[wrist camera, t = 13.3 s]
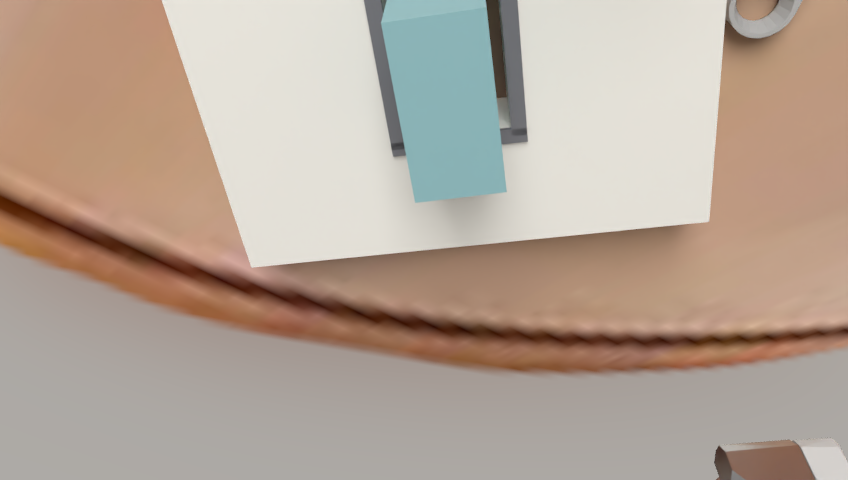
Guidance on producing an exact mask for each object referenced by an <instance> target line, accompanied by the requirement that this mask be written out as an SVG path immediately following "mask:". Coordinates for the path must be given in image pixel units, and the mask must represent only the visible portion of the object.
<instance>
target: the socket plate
mask: <svg viewBox="0 0 848 480" xmlns="http://www.w3.org/2000/svg"><path fill="white" fill-rule="evenodd" d="M386 1H387V0H162V2H163V5H164V8H165V11H166V14H167V17H168V20H169V23H170V26H171V29H172V32H173V35H174V38H175V41H176V44H177V47H178V50H179V53H180V56H181V59H182V62H183V65H184V68H185V71H186V74H187V77H188V80H189V83H190V86H191V89H192V92H193V95H194V98H195V101H196V104H197V107H198V110H199V113H200V116H201V119H202V122H203V125H204V128H205V131H206V134H207V136H208V139H209V142H210V145H211V148H212V151H213V154H214V157H215V160H216V163H217V166H218V169H219V172H220V175H221V178H222V181H223V184H224V187H225V190H226V193H227V196H228V199H229V202H230V205H231V208H232V211H233V214H234V217H235V220H236V223H237V226H238V229H239V232H240V235H241V238H242V241H243V244H244V247H245V250H246V253H247V256H248V259H249V262H250V265H251V268H252V267H262V266H272V265H282V264H292V263H302V262H312V261H322V260H332V259H342V258H352V257H362V256H372V255H382V254H392V253H402V252H412V251H422V250H432V249H442V248H452V247H462V246H472V245H482V244H492V243H502V242H512V241H522V240H532V239H542V238H552V237H562V236H572V235H582V234H592V233H602V232H612V231H622V230H632V229H642V228H652V227H662V226H672V225H682V224H692V223H702V222H709V216H710V203H711V191H712V178H713V166H714V153H715V141H716V128H717V116H718V103H719V91H720V78H721V66H722V53H723V41H724V28H725V16H726V3H727V0H498V4H499V16H500V27H501V39H502V50H503V61H504V73H505V84H506V95H507V97H503V98H497V107H498V117H499V126H500V135H501V144H502V153H503V162H504V171H505V181H506V190H507V192H504V193H495V194H487V195H478V196H470V197H461V198H453V199H445V200H436V201H428V202H419V203H415V199H414V194H413V189H412V184H411V178H410V173H409V168H408V163H407V157H406V152H405V147H404V141H403V136H402V131H401V126H400V120H399V115H398V110H397V105H396V99H395V94H394V89H393V84H392V78H391V73H390V68H389V62H388V57H387V52H386V47H385V41H384V36H383V31H382V26H381V21H382V17H383V13H384V9H385V5H386Z"/></svg>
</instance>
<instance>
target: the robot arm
mask: <svg viewBox="0 0 848 480" xmlns="http://www.w3.org/2000/svg"><path fill="white" fill-rule="evenodd" d="M714 463H715V466H716V469H717V472H718V474H719V478H717V479H716V480H848V460H847V459H846V457H845V455H844V453H843V451H842V449H841V448H840V446H839V444H838V443H837V442H836V441H834V440H833V439H832V438H822V439H806V440H793V441H790V440H781V441H768V442H755V443H742V444H730V445H719V446H718V448H717V450H716V454H715V461H714Z"/></svg>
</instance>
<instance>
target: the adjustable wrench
mask: <svg viewBox="0 0 848 480" xmlns="http://www.w3.org/2000/svg"><path fill="white" fill-rule="evenodd" d="M801 2H802V0H779V2H778V4H777V5H776V7H775V8H774V10H773V11H772V12H770V13H769V14H768V15H767V16H765V17H763V18H762V19H760V20H755V21H752V20H747V19H744V18H742V17H741V16H740V15H739V13H738V11H737V8H736V0H727V3H726V16H725V19H726V20H727V21H728V22H729V23H730V24H731V25H732V26H733V28H734V29H735V30H736V31H737V32H738V33H739V34H741V35H744V36H746V37H748V38H763V37H767V36H771V35H772V34H774V33H776V32H778V31H780V30H781V29H782V28H784V27H785V26H786V25H787V24H788V23H789V22H790V21H791V19H792V18H793V16H794V15H795V14H796V12H797V10H798V8H799V6H800V4H801Z"/></svg>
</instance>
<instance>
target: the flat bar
mask: <svg viewBox="0 0 848 480" xmlns="http://www.w3.org/2000/svg"><path fill="white" fill-rule="evenodd" d="M381 26H382V31H383V36H384V41H385V47H386V52H387V57H388V62H389V68H390V73H391V78H392V84H393V89H394V94H395V99H396V105H397V110H398V115H399V120H400V126H401V131H402V136H403V141H404V147H405V152H406V157H407V163H408V168H409V173H410V178H411V184H412V189H413V194H414V199H415V203H419V202H428V201H436V200H445V199H453V198H461V197H470V196H478V195H487V194H495V193H504V192H507V190H506V181H505V171H504V162H503V153H502V144H501V135H500V126H499V117H498V107H497V98H496V89H495V80H494V71H493V62H492V53H491V44H490V34H489V25H488V16H487V7H486V0H387V1H386V5H385V9H384V13H383V17H382V21H381Z"/></svg>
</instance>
